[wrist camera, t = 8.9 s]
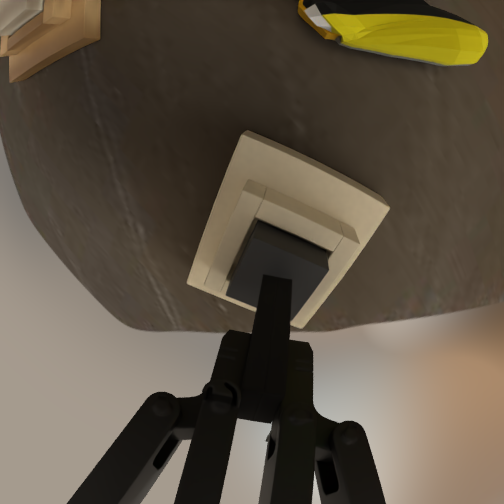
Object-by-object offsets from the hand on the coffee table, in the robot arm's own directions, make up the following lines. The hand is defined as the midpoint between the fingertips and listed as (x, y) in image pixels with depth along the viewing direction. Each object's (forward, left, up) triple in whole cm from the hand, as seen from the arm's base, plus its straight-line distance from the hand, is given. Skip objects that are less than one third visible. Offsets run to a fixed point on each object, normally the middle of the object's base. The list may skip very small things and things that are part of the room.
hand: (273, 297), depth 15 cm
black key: (0, 0, -3) cm, 3 cm away
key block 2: (0, 0, -7) cm, 7 cm away
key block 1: (-19, -21, -7) cm, 29 cm away
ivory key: (-19, -21, -3) cm, 29 cm away
